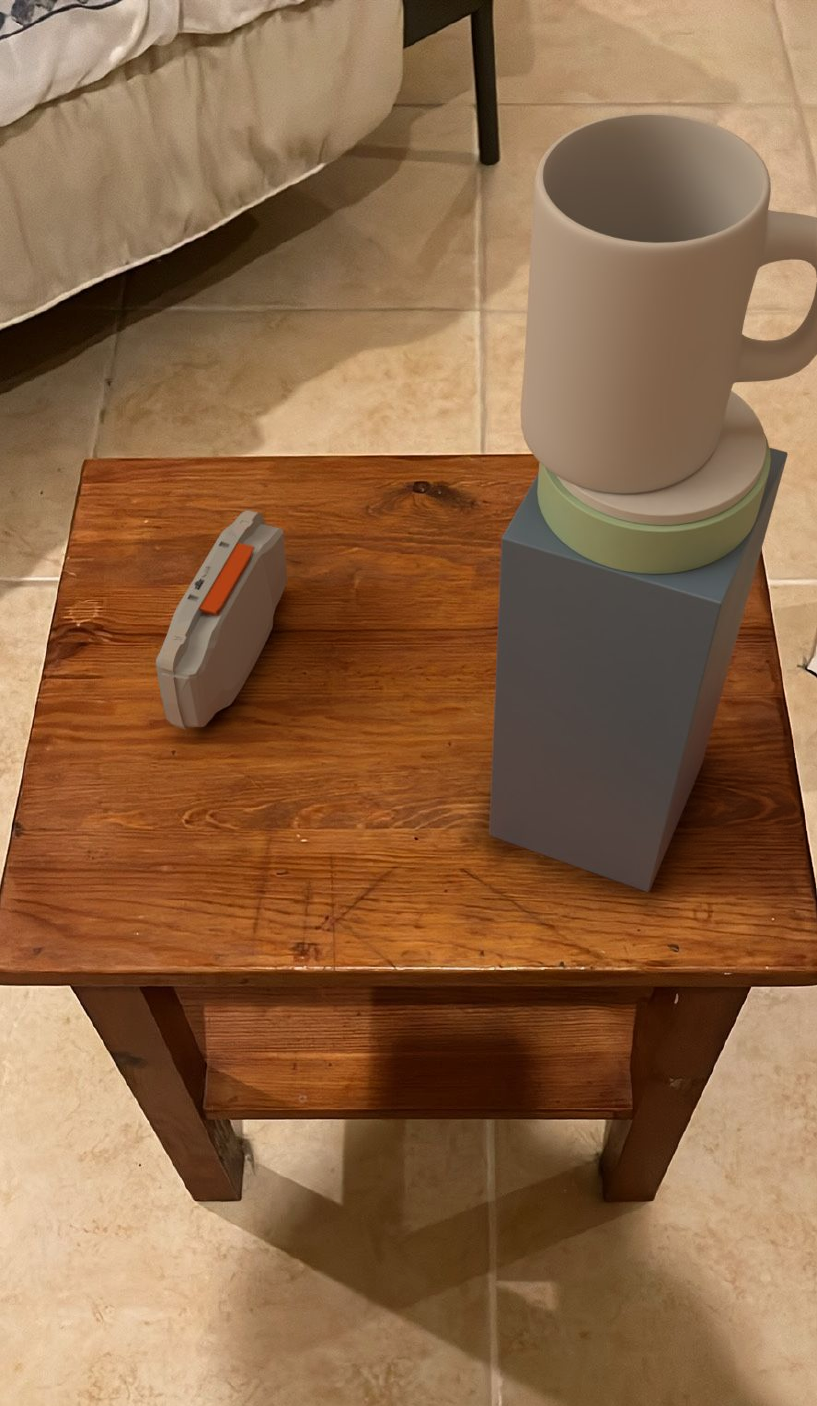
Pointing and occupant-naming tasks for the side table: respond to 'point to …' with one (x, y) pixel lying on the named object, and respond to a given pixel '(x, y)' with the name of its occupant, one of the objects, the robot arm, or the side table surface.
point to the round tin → (668, 507)
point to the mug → (649, 297)
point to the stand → (608, 693)
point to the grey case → (222, 622)
